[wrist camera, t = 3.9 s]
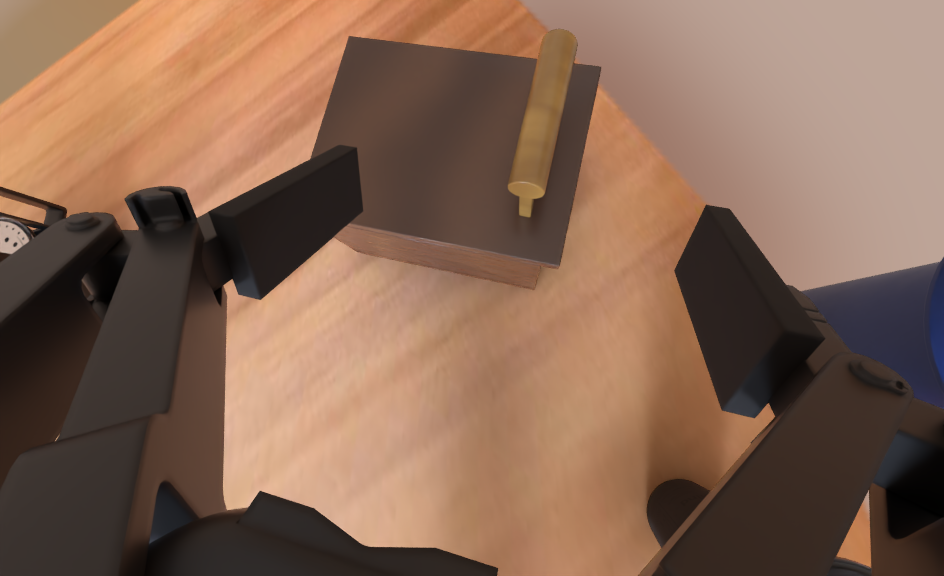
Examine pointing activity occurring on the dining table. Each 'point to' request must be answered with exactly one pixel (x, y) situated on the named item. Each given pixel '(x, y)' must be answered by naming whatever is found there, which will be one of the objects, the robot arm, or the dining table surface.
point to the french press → (12, 233)
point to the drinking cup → (683, 497)
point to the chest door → (465, 142)
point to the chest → (441, 257)
